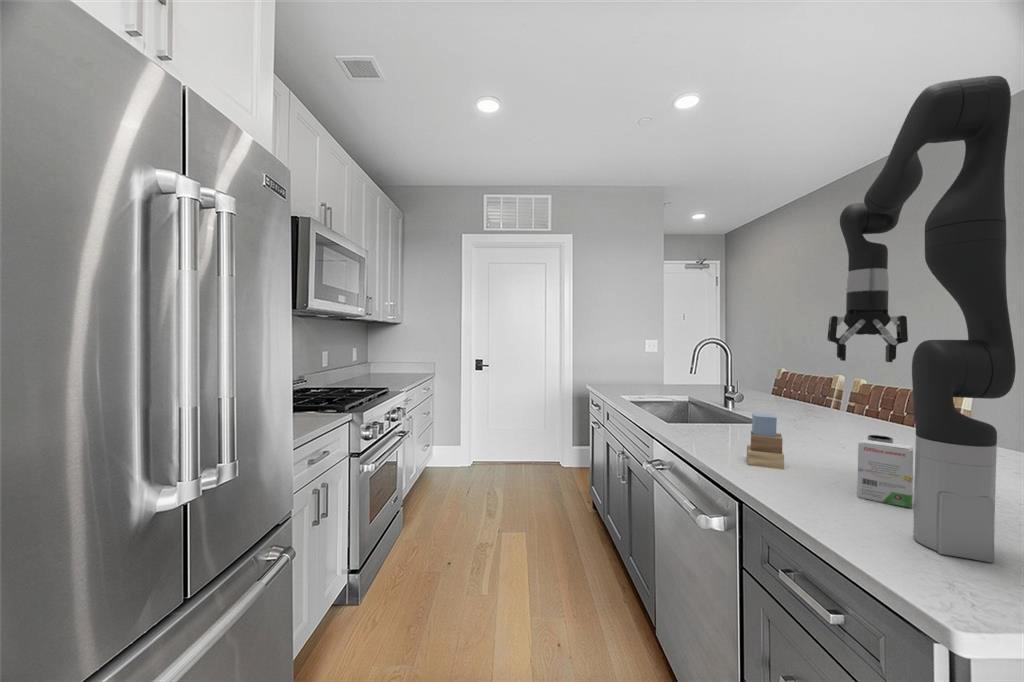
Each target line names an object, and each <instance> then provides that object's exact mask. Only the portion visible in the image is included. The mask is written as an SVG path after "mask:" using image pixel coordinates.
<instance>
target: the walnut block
mask: <svg viewBox="0 0 1024 682" xmlns="http://www.w3.org/2000/svg"><path fill="white" fill-rule="evenodd" d="M750 445H751V451H757V452H766V453H774V454H782V452H783V436H782V433H781V432H780V433H779V432H776V437H770V436H759V435H754V434H753V432H752V430H751V431H750Z"/></svg>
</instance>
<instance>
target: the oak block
mask: <svg viewBox="0 0 1024 682" xmlns="http://www.w3.org/2000/svg"><path fill="white" fill-rule="evenodd" d="M746 461H747V465H748V466H752V467H761V468H767V469H768V468H770V469H777V470H785V453H784V452H783V451H782V454H774V453H766V452H757V451H751V444H746Z"/></svg>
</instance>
